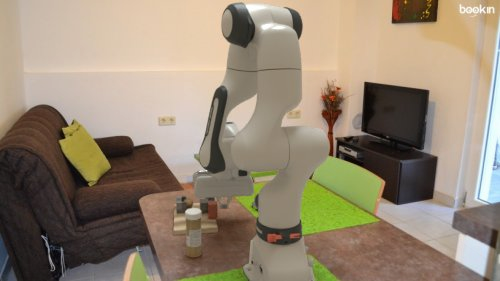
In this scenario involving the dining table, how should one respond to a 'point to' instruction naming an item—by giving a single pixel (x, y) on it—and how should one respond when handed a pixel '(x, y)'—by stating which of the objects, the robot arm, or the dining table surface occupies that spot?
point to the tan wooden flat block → (180, 219)
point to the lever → (209, 207)
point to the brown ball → (189, 202)
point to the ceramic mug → (255, 201)
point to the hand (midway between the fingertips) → (224, 208)
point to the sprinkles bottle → (193, 232)
